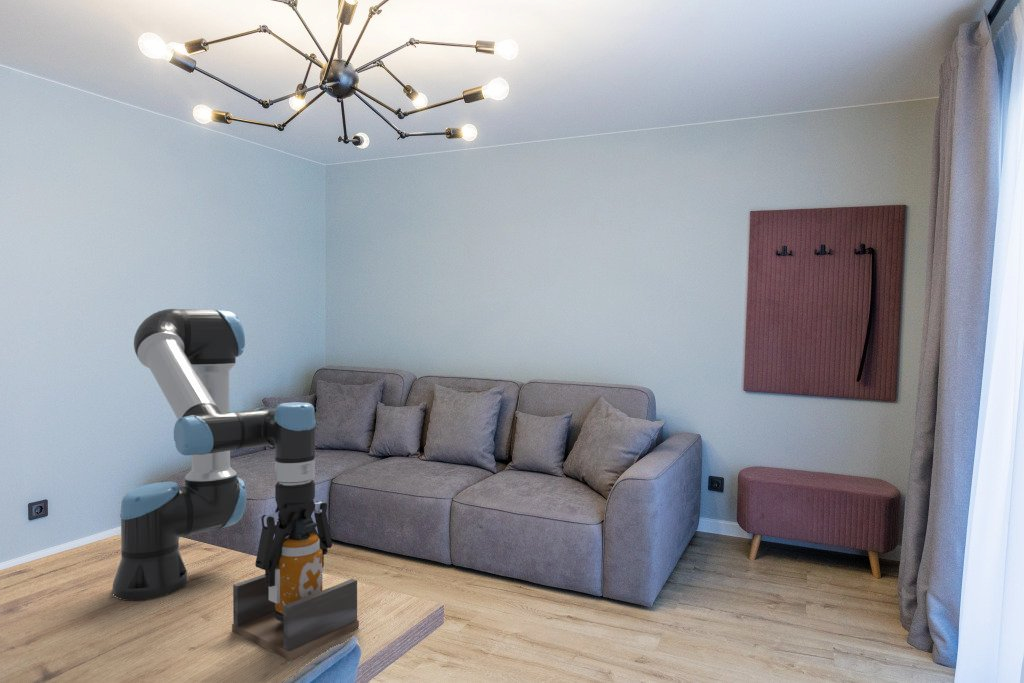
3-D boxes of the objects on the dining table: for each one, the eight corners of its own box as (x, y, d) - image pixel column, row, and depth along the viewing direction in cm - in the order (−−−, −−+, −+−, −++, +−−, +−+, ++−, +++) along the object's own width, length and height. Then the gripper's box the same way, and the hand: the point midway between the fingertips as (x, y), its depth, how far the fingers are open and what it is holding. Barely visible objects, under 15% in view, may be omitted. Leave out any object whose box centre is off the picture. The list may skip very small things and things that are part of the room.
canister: (295, 631, 123) (295, 526, 122) (258, 616, 129) (258, 516, 128) (331, 613, 130) (332, 514, 130) (295, 600, 136) (294, 506, 136)
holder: (232, 631, 129) (231, 584, 128) (300, 603, 142) (300, 560, 141) (290, 660, 118) (290, 608, 117) (358, 627, 131) (358, 580, 130)
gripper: (257, 495, 118) (257, 617, 119) (350, 473, 136) (350, 580, 136) (234, 488, 122) (234, 607, 123) (327, 468, 140) (327, 572, 140)
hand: (295, 593), depth 129 cm, fingers closed on canister, 9 cm apart
